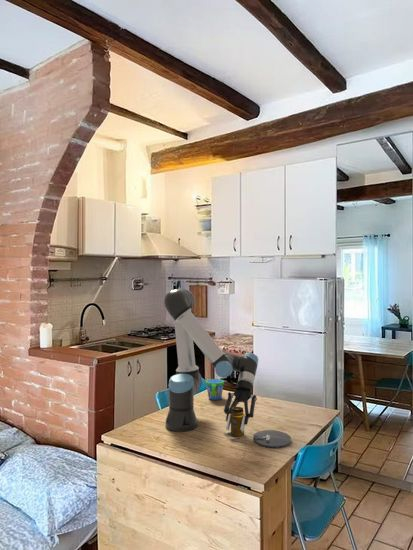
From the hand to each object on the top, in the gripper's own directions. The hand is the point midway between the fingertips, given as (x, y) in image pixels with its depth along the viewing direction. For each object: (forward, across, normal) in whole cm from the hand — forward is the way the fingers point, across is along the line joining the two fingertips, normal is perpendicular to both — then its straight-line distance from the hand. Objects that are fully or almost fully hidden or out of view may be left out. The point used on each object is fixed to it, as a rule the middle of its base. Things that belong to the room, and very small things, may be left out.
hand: (234, 429), depth 186 cm
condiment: (0, +1, -5) cm, 5 cm away
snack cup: (-33, +29, -38) cm, 59 cm away
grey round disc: (0, -16, -5) cm, 17 cm away
